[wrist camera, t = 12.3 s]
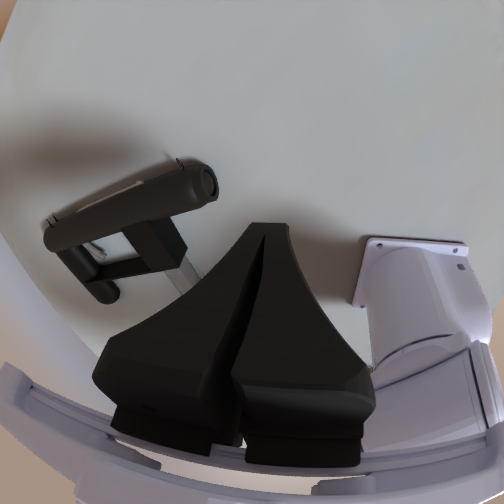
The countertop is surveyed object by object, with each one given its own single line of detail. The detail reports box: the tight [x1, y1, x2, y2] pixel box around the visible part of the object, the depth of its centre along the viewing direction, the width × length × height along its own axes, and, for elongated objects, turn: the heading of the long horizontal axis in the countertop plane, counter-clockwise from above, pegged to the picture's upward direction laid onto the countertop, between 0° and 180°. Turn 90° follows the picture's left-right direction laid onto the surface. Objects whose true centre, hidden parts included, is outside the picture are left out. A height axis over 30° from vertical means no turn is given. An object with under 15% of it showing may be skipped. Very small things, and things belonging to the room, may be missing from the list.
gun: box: [43, 158, 219, 304], centre depth 26 cm, size 3×20×16 cm
